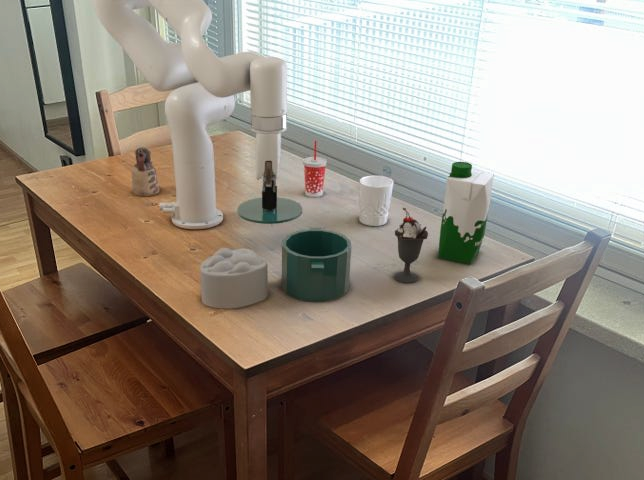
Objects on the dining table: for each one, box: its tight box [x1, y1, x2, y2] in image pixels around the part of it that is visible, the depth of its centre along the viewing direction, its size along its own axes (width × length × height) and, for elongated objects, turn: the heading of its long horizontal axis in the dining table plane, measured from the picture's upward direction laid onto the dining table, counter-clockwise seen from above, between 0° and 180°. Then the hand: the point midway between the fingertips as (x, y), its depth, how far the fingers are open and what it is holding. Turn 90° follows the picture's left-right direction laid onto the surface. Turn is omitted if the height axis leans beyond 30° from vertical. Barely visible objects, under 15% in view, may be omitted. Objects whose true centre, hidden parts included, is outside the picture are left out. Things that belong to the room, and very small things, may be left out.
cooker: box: [281, 226, 352, 303], centre depth 145 cm, size 14×19×10 cm
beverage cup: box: [302, 140, 328, 198], centre depth 187 cm, size 6×6×14 cm
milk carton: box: [437, 161, 495, 265], centre depth 153 cm, size 9×9×20 cm
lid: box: [236, 196, 304, 225], centre depth 160 cm, size 15×15×6 cm
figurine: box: [131, 146, 160, 197], centre depth 190 cm, size 7×7×12 cm
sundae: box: [393, 207, 429, 284], centre depth 146 cm, size 7×7×15 cm
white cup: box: [358, 175, 394, 227], centre depth 172 cm, size 8×8×10 cm
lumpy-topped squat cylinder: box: [199, 247, 269, 310], centre depth 142 cm, size 10×13×9 cm
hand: (269, 205), depth 160 cm, fingers closed on lid, 2 cm apart
